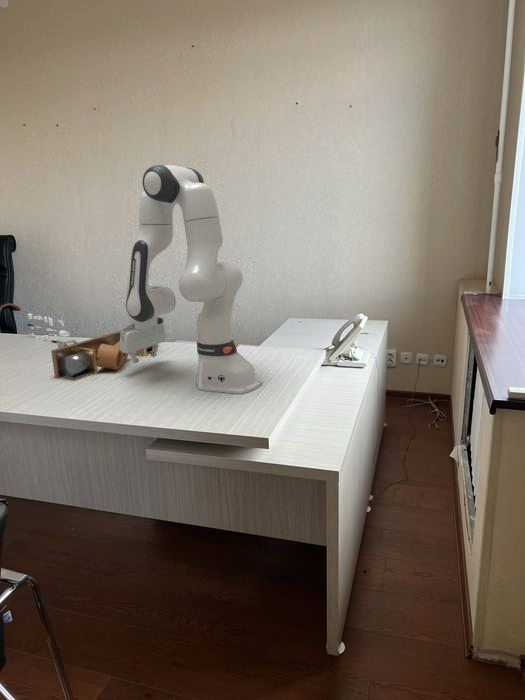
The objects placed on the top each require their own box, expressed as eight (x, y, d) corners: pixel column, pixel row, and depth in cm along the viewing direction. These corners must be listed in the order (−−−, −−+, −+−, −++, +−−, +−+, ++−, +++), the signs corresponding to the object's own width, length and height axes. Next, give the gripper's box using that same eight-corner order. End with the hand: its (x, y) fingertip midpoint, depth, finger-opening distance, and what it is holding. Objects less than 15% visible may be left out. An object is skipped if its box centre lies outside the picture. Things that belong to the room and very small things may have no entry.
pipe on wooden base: (161, 350, 217) (159, 327, 215) (75, 382, 181) (71, 353, 178) (142, 348, 222) (140, 324, 220) (55, 377, 186) (51, 350, 184)
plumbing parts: (34, 336, 250) (30, 310, 247) (78, 346, 230) (74, 318, 226) (21, 338, 246) (17, 313, 242) (65, 349, 225) (61, 321, 222)
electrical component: (94, 358, 209) (93, 346, 208) (80, 361, 206) (78, 349, 204) (69, 347, 227) (68, 336, 225) (55, 350, 223) (54, 339, 221)
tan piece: (117, 350, 187) (97, 346, 187) (114, 372, 189) (95, 368, 188) (130, 339, 204) (112, 336, 204) (127, 359, 206) (110, 356, 206)
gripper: (127, 329, 178) (130, 368, 182) (167, 317, 195) (170, 353, 199) (113, 327, 182) (117, 365, 185) (154, 316, 198) (157, 351, 202)
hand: (145, 359), depth 192 cm, fingers open, 8 cm apart
